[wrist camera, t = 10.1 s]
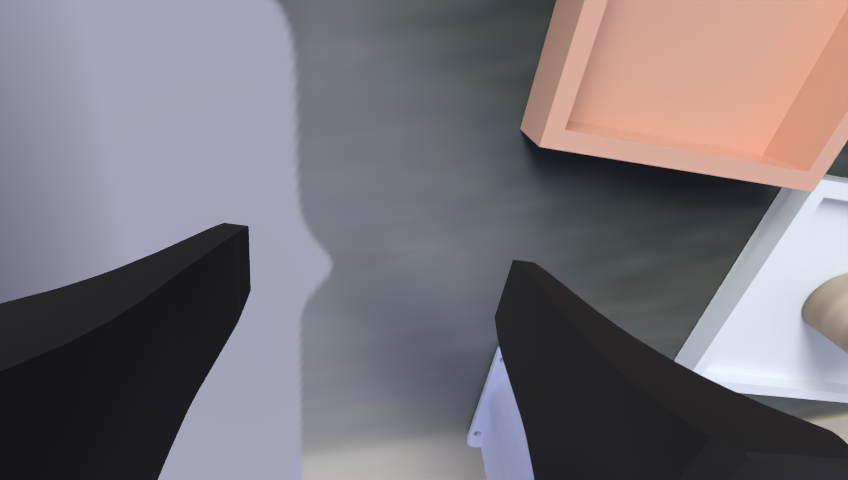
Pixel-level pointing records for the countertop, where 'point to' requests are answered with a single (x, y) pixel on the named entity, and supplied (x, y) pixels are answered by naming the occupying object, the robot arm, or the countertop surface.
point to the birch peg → (830, 311)
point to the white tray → (778, 303)
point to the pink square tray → (697, 86)
